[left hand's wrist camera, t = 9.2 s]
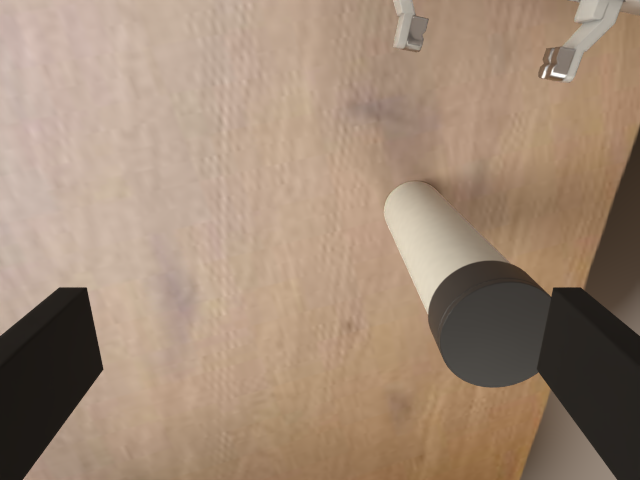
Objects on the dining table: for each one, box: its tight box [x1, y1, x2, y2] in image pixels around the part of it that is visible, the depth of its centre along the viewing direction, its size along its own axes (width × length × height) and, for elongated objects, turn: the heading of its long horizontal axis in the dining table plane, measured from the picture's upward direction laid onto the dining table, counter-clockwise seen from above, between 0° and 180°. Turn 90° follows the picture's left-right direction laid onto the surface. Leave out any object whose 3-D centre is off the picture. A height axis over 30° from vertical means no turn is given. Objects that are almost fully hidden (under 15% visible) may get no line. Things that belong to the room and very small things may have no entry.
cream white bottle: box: [384, 181, 511, 313], centre depth 28 cm, size 5×5×19 cm
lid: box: [428, 260, 551, 387], centre depth 20 cm, size 5×5×2 cm
